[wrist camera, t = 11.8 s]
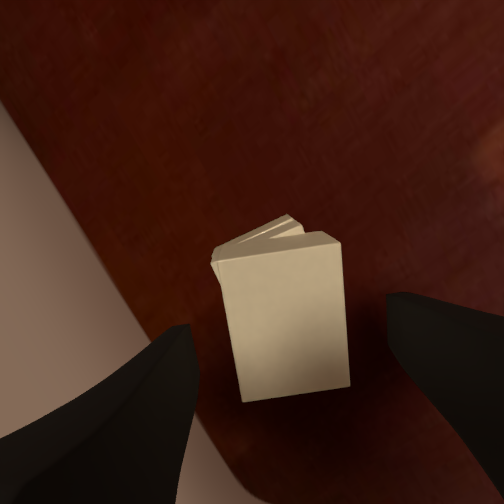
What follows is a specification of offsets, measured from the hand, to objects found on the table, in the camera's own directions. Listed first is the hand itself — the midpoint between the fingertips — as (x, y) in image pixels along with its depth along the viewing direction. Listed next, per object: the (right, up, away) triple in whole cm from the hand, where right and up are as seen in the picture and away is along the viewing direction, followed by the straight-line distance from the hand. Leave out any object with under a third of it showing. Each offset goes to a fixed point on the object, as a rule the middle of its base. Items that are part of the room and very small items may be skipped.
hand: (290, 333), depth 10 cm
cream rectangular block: (0, +1, +3) cm, 3 cm away
